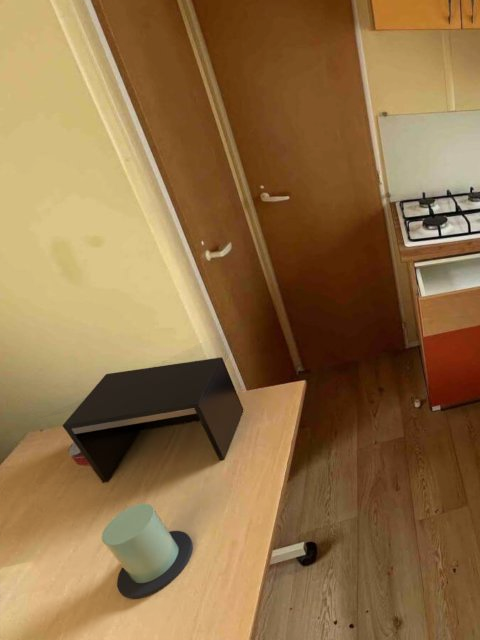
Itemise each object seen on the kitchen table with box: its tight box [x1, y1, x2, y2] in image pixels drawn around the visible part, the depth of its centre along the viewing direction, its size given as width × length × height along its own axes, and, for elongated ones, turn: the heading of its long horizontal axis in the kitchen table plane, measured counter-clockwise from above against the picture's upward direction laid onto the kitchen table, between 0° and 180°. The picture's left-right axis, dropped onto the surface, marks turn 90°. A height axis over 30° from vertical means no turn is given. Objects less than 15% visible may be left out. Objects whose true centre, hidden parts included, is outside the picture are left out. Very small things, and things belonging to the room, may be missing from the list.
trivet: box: [116, 530, 194, 600], centre depth 78 cm, size 11×11×1 cm
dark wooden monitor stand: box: [62, 356, 245, 484], centre depth 97 cm, size 15×24×18 cm, turn 104°
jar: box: [101, 503, 178, 583], centre depth 75 cm, size 7×7×12 cm
